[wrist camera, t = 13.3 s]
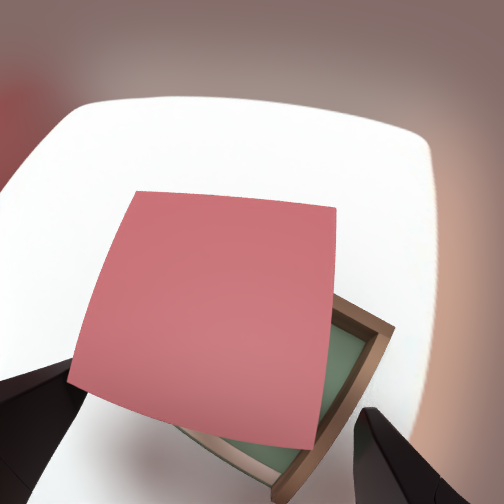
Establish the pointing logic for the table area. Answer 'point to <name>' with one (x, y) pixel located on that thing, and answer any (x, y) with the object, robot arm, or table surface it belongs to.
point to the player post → (214, 316)
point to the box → (331, 412)
